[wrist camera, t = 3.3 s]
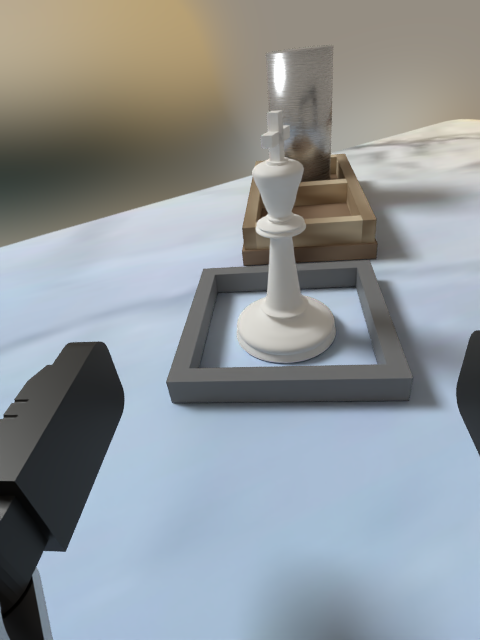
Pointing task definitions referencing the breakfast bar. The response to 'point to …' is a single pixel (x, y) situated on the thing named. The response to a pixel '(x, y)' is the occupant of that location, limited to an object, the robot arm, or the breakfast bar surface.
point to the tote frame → (291, 381)
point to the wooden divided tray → (319, 220)
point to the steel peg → (304, 105)
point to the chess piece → (282, 266)
